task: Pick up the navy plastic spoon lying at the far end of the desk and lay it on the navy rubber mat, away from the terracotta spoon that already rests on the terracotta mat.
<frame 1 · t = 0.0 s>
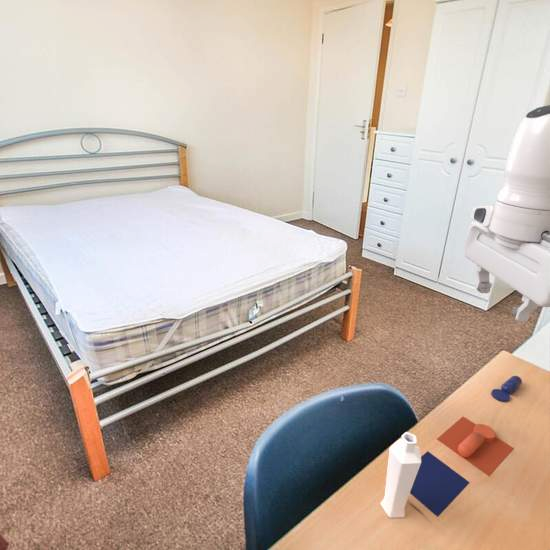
hand: (499, 304, 62), 29 cm above the table, tool pointing down, fingers open, 8 cm apart
terracotta mat: (474, 445, 73), on the table
navy spoon: (506, 392, 87), on the table
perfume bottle: (394, 507, 61), on the table
terracotta spoon: (474, 443, 72), point 1 cm above the table, touching terracotta mat
navy mat: (431, 483, 65), on the table
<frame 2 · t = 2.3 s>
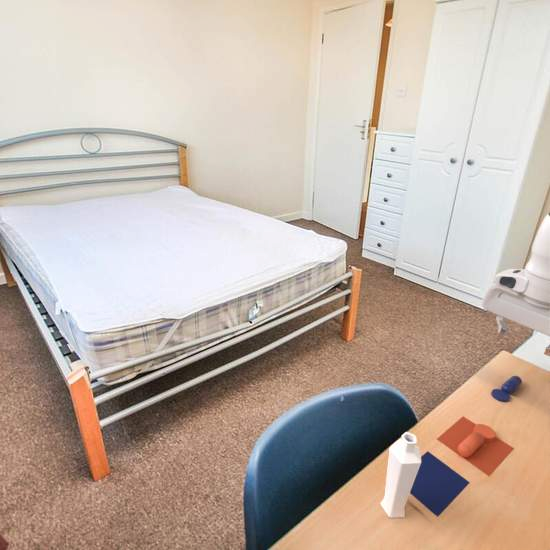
hand: (524, 344, 82), 13 cm above the table, tool pointing down, fingers open, 8 cm apart
nothing on the table moved.
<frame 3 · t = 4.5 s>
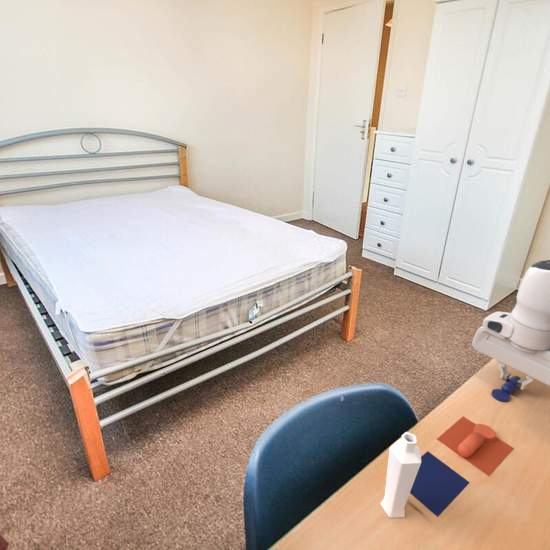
hand: (512, 383, 87), 2 cm above the table, tool pointing down, fingers closed on navy spoon, 2 cm apart
navy spoon: (506, 392, 87), on the table, touching gripper
everything else where it was.
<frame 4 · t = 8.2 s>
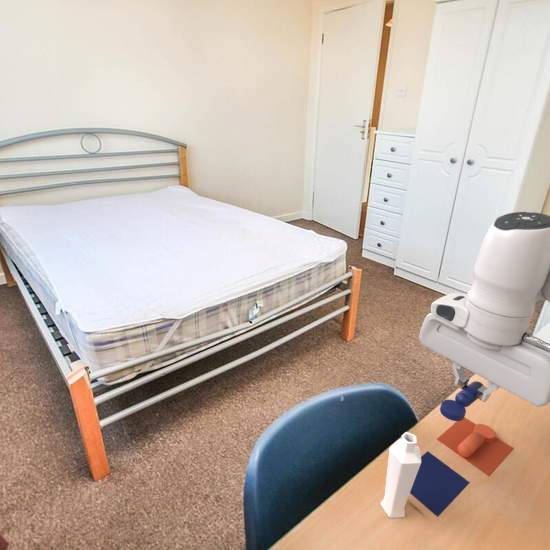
hand: (470, 392, 63), 16 cm above the table, tool pointing down, fingers closed on navy spoon, 2 cm apart
navy spoon: (462, 404, 63), point 14 cm above the table, touching gripper
everything else where it was.
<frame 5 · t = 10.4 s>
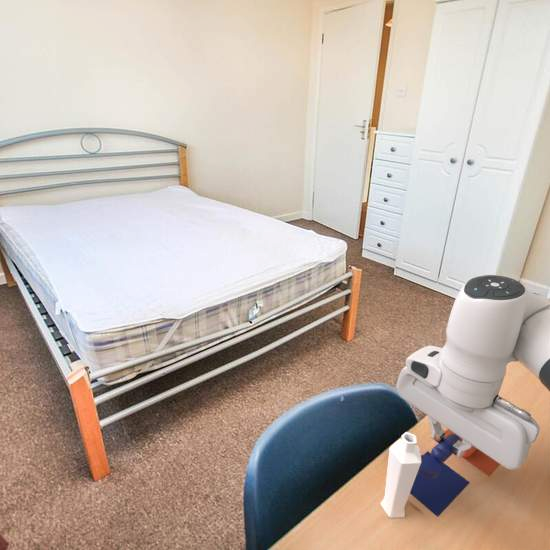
hand: (446, 445, 63), 7 cm above the table, tool pointing down, fingers closed on navy spoon, 2 cm apart
navy spoon: (438, 459, 62), point 6 cm above the table, touching gripper
everything else where it was.
when the fingers open (2 cm above the table, at t = 11.9 s): navy spoon stays where it is, resting on navy mat.
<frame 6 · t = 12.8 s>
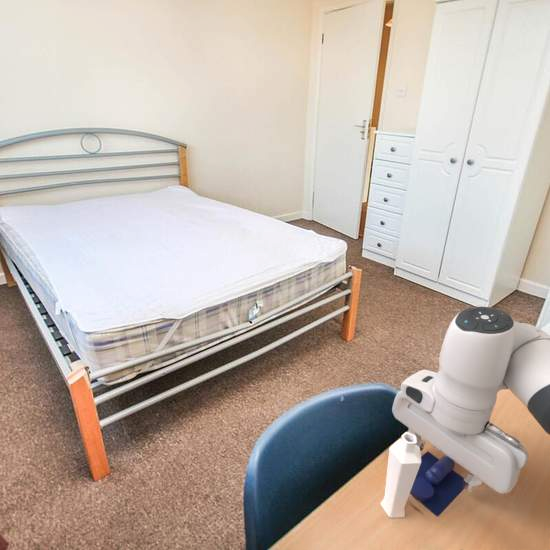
hand: (441, 467, 65), 2 cm above the table, tool pointing down, fingers open, 8 cm apart
navy spoon: (432, 481, 65), point 1 cm above the table, touching navy mat
everything else where it was.
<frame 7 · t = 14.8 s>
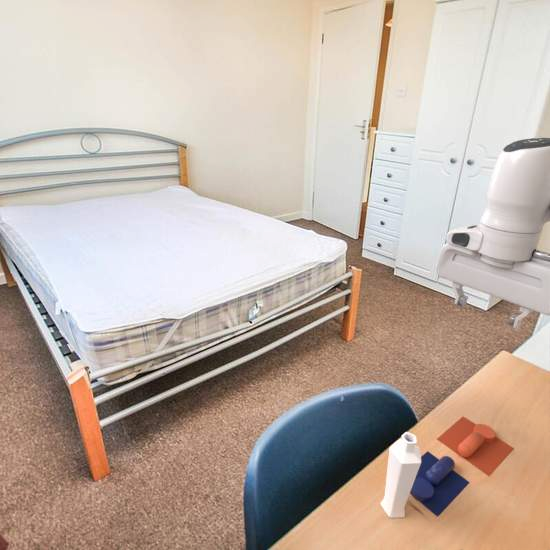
hand: (485, 315, 69), 25 cm above the table, tool pointing down, fingers open, 8 cm apart
nothing on the table moved.
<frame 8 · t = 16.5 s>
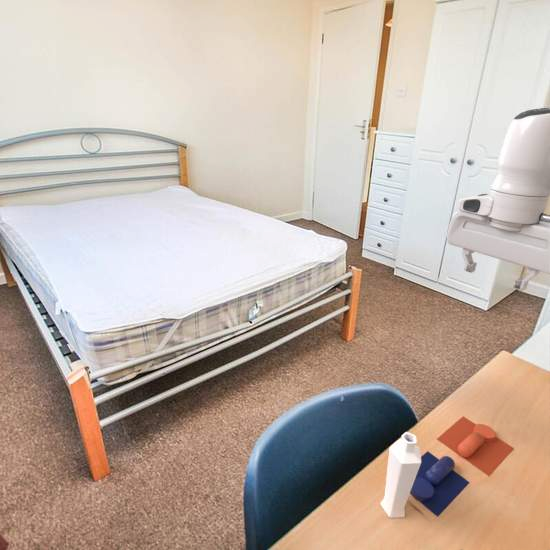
hand: (493, 279, 72), 29 cm above the table, tool pointing down, fingers open, 8 cm apart
nothing on the table moved.
at the end: navy spoon inside the target area on the navy mat (0.1 cm from its centre), point 0.6 cm above the navy mat's base; terracotta spoon 0.0 cm from the terracotta mat (horizontally); the gripper is holding nothing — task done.
